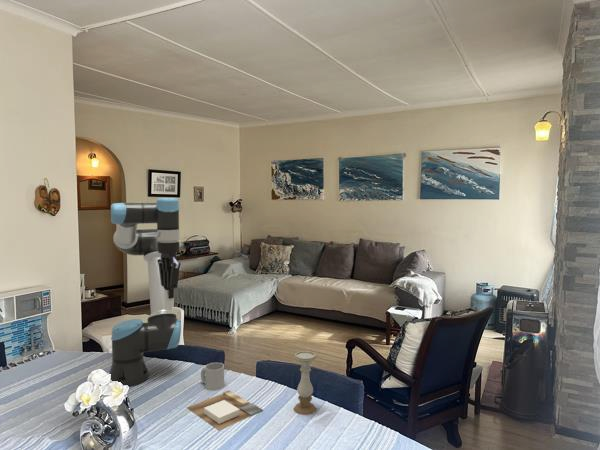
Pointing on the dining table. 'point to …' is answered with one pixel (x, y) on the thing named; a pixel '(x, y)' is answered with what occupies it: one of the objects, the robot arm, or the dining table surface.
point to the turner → (242, 403)
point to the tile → (221, 411)
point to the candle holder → (305, 384)
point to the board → (199, 411)
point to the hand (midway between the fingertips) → (169, 306)
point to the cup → (213, 376)
